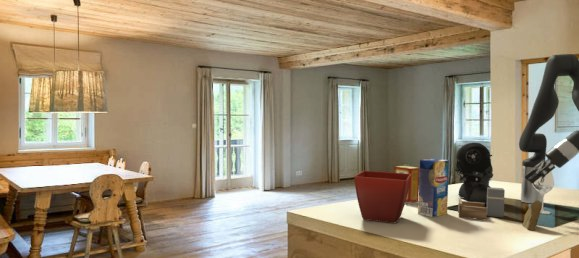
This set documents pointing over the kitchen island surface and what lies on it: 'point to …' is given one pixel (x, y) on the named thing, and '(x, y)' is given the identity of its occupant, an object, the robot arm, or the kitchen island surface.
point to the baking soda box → (414, 181)
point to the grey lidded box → (495, 202)
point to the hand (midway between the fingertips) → (527, 180)
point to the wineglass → (544, 187)
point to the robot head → (474, 172)
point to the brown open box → (472, 209)
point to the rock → (532, 215)
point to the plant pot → (381, 195)
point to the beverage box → (433, 187)
